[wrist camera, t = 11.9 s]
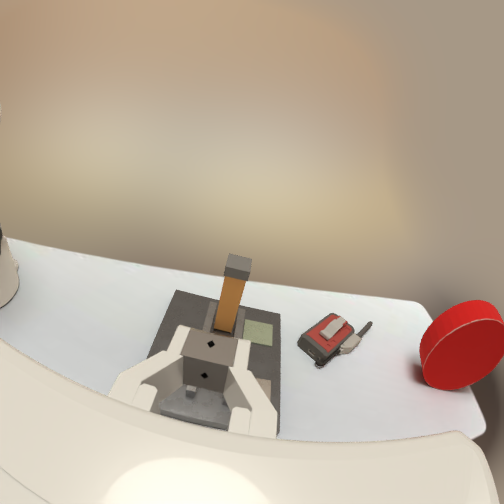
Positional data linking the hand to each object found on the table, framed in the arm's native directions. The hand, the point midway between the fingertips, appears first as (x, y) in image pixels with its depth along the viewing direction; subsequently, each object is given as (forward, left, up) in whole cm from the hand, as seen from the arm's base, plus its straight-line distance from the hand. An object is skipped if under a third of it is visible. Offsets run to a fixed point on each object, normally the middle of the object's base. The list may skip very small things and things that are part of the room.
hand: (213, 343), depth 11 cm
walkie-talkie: (+23, +30, -28) cm, 48 cm away
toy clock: (+48, +21, -28) cm, 59 cm away
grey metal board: (+1, +20, -28) cm, 34 cm away
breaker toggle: (+1, +26, -25) cm, 36 cm away
